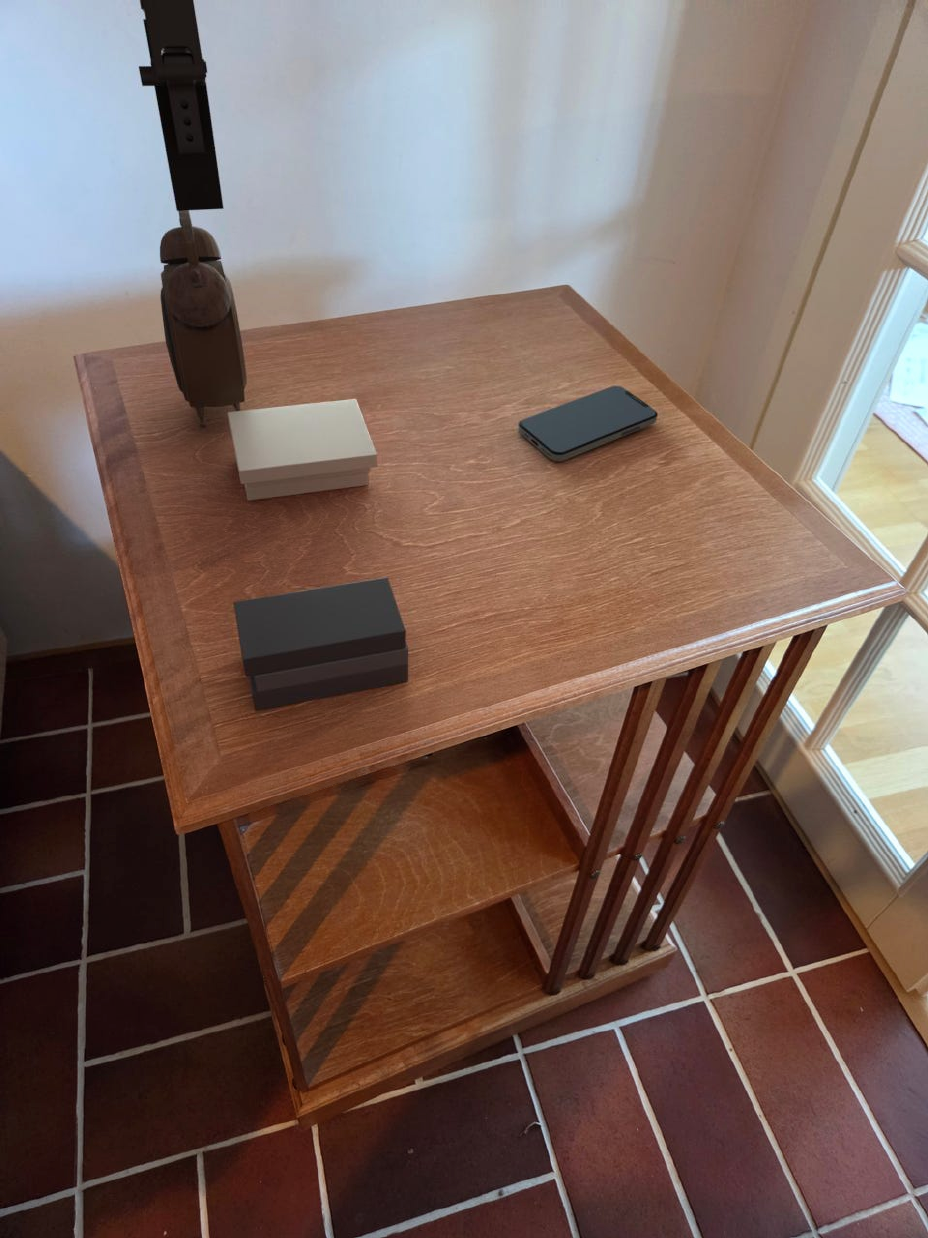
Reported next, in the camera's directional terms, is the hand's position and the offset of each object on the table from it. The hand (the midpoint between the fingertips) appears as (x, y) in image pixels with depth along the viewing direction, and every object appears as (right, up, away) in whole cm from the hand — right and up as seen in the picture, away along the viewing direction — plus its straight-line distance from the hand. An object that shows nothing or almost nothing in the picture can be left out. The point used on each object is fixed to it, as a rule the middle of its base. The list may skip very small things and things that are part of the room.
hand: (191, 167), depth 54 cm
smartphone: (+32, -8, +39) cm, 51 cm away
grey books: (+7, -33, +13) cm, 36 cm away
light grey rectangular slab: (+2, -12, +28) cm, 31 cm away
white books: (+1, -14, +30) cm, 34 cm away
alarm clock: (-10, -6, +38) cm, 39 cm away
